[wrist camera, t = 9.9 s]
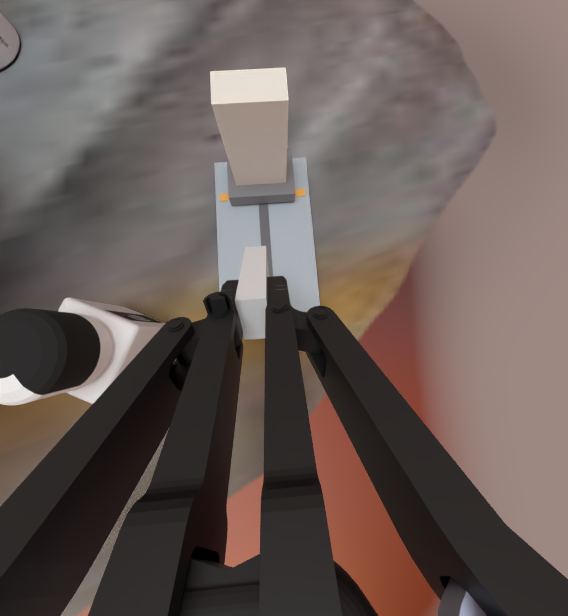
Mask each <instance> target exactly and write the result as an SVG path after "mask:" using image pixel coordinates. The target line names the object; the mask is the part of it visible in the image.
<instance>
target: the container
mask: <svg viewBox="0 0 568 616" xmlns="http://www.w3.org/2000/svg"><path fill="white" fill-rule="evenodd" d="M164 324H166V323H163V322H161V321H158V320H156V319H154V318H151V317H149V316H146V315H144V314H141V313H139V312H136V311H134V310H131V309H129V308H126V307H122V306H116V305H110V304H104V303H99V302H93V301H87V300H81V299H75V298H65V299H64V301H63V302H62V304H61V306H60V308H59V310H58V311H48V310H38V309H17V310H12V311H9V312H6V313H4V314H2V315H0V404H3V405H20V404H24V403H28V402H32V401H36V400H39V399H43V398H47V397H50V396H54V395H58V394H61V393H68V394H70V395H72V396H75V397H77V398H79V399H82V400H84V401H86V402H89V403H91V404H93V403H94V402H95V401H96V400H97V399H98V398H99V397H100V396H101V394H102V393H103V392H104V391H105V390H106V389H107V388H108V387H109V385H110V384H111V383H112V382H113V381H114V380H115V379H116V378H117V377H118V375H119V374H120V373H121V372H122V371H123V370H124V369H125V368H126V367H127V365H128V364H129V363H130V362H131V361H132V360H133V359H134V358H135V357H136V355H137V354H138V353H139V352H140V351H141V350H142V349H143V348H144V347H145V345H146V344H147V343H148V342H149V341H150V340H151V339H152V338H153V337H154V335H155V334H156V333H157V332H158V331H159V330H160V329H161V328H162V327H163V325H164Z"/></svg>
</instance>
